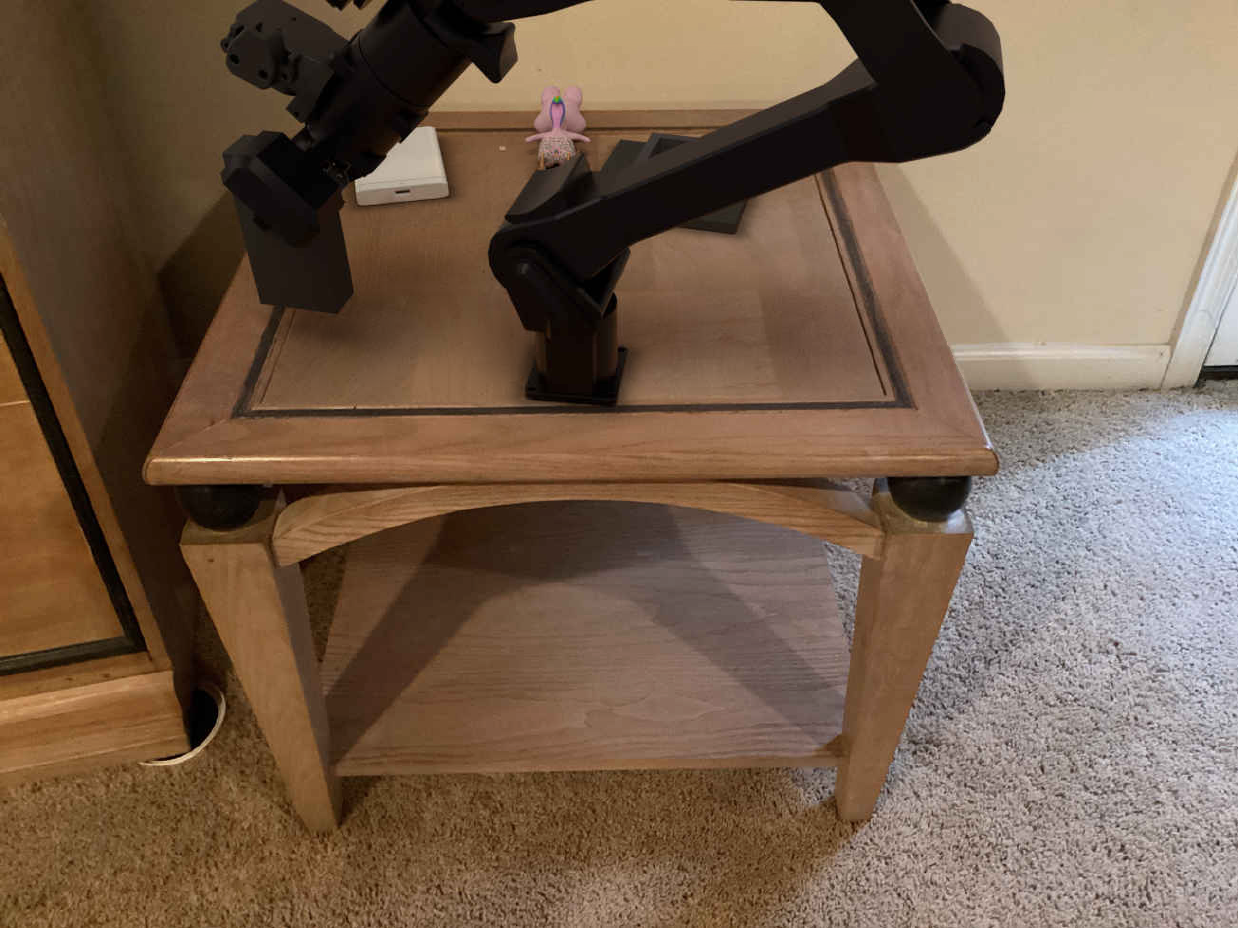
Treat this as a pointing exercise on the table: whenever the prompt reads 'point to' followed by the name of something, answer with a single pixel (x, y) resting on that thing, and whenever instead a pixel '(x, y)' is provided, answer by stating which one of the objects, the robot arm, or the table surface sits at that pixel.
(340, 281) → the black tall block
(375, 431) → the table surface
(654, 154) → the base pad
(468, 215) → the table surface
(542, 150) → the rabbit figure
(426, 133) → the hard drive
